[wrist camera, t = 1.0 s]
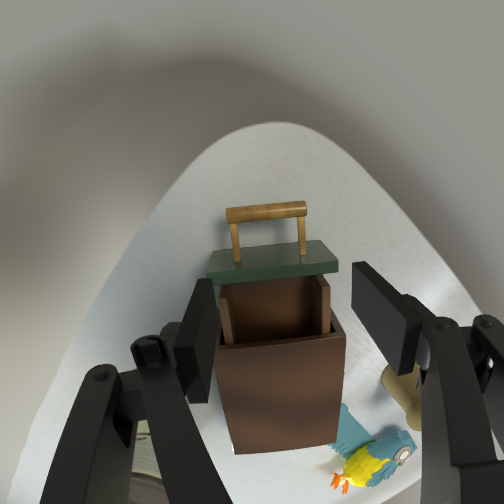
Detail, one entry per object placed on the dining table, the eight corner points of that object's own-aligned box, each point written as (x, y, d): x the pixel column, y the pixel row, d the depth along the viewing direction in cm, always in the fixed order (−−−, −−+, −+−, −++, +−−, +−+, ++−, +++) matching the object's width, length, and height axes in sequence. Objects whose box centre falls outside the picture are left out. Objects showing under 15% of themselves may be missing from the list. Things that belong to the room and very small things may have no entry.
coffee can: (210, 428, 41) (203, 504, 28) (173, 452, 43) (160, 518, 30) (155, 394, 39) (130, 470, 26) (122, 421, 41) (97, 487, 28)
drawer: (206, 204, 31) (196, 216, 25) (317, 193, 31) (336, 202, 25) (231, 369, 37) (229, 406, 31) (322, 359, 37) (334, 393, 30)
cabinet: (217, 308, 36) (210, 350, 27) (325, 297, 35) (346, 335, 27) (235, 409, 40) (234, 454, 32) (323, 399, 40) (336, 442, 32)
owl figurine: (296, 476, 34) (394, 422, 32) (288, 434, 42) (372, 383, 40) (370, 514, 40) (437, 476, 38) (360, 484, 49) (421, 447, 47)
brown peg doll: (406, 348, 38) (442, 396, 28) (422, 368, 40) (455, 414, 29) (374, 376, 39) (402, 428, 29) (392, 393, 41) (419, 442, 30)
